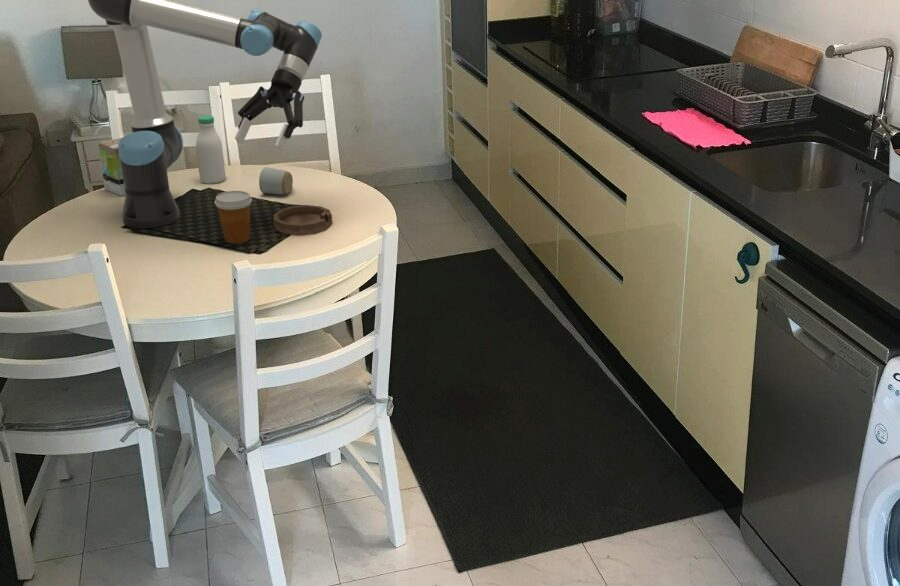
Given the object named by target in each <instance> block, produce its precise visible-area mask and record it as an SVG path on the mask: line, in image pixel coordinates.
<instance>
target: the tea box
mask: <svg viewBox="0 0 900 586" xmlns="http://www.w3.org/2000/svg"><path fill="white" fill-rule="evenodd" d="M121 138H122V137H118V138H115V139H110V140H104V141H101V142H98V150H99V151H98V152H99V156H100V157H99V158H100V164H101V171H102V173H101V174H102V177H103V186H104V190H107V191H109V192H111V193H113V194H116V195H119V196H121V197H122V196H126V194H125V187H124V181H123V175H122V169H121V163H120V157H119V154H118V153H119V152H118V151H119V147H118V144H119V141H120V140H121Z"/></svg>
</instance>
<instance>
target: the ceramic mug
mask: <svg viewBox="0 0 900 586" xmlns="http://www.w3.org/2000/svg"><path fill="white" fill-rule="evenodd" d="M293 183H294V179H293V175H292V173H291V172H290V171H288V170H284V169H279V168H278V169H277V168H273V167H272V168H271V167H267V166H266V167H263V168H262V169H261V170H260V173H259V177H258V185H259V191H260V192H261V193H263V194H269V195H278V196H284V195H285V196H287V195H288V194H290V192H291V190H292V189H293V185H294V184H293Z"/></svg>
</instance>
